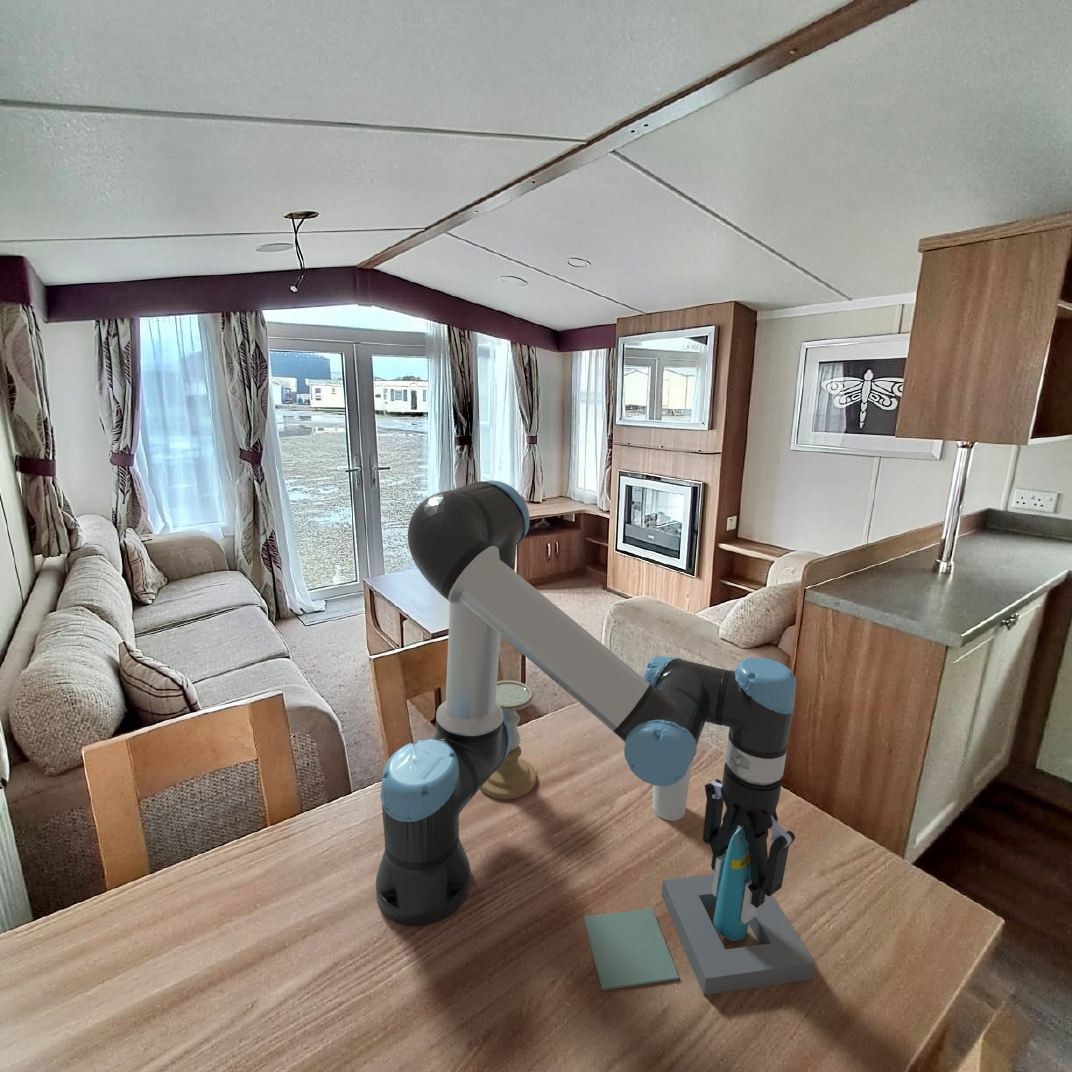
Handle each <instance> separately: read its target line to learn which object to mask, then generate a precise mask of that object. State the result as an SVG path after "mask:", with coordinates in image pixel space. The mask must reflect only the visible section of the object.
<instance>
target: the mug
mask: <svg viewBox="0 0 1072 1072" xmlns="http://www.w3.org/2000/svg"><path fill="white" fill-rule="evenodd" d="M691 771H692V762H691V763H690V765H689V768H688V770H687V772H686V774H685V775H684V777H683V778H682V779H681V780H679V781H678V782H676V783H674V784H672V785H668V786H656V785H653V787H652V788H653V789H652V806H651V807H652V811H653V813H654V814H655V815H656V816H657V817H659V818H661V819H663V820H665V821H669V822H670V821H671V822H674V821H679V820H682V819H683V818H684V816H685V814H686V808H687V803H688V796H689V795H688V792H689V785H690V779H691V778H690V777H691Z"/></svg>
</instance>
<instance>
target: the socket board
mask: <svg viewBox="0 0 1072 1072" xmlns="http://www.w3.org/2000/svg"><path fill="white" fill-rule="evenodd" d="M713 880H714V873H711V874H704V875H703V874H702V875H694V876H685V877H678V878H677V877H675V878H668V879H662V885H661V896H662V899H663V902H664V904H665V908H666V909H667V912H668V913H669V916H670V919H671V921H672V924H673V925H674V928H675V931H676V933H677V935H678V937H679V940H680V942H681V945H682V947H683V950H684V952H685V954H686V957H687V959H688V961H689V963H690V966H691V969H692V972H693V974H694V976H695V979H696V981H697V984H698V986H699V987H700V991H701V992H702V995H703V996H708V995H709V996H710V995H716V994H722V993H729V992H735V991H736V992H737V991H743V990H751V989H756V988H757V989H758V988H764V987H771V986H776V985H784V984H791V983H798V982H805V981H810V980H811V981H812V980H813V976H814V971H815V966H816V962H815V961H814V959H813V957H812V956H811V954H810V952H809V951H808V949H807V948H806V947H805V944H804V943H803V942H802V940H801V938H800V937H799V935H798V934H797V932H796V930H795V928H794V927H793V926H792V924H791V923H790V921H789V919H788V918H787V916H786V915H785V913H784V911H783V910H782V908H781V907H780V905H779V903H778V902H777V901H776V898H775V897H774V896H773V894H772V895H771V896H767V895H766V896H765V902H764V903H763V904H762V905H760V906H759V907H758V912H757V916H755V917H754V918H753V919H751V920H750V921H749V923H748V926H749V927H750V929H751V930H752V932H753V934H754V936H755V938H756V939H757V942H758V944H757V945H749V946H742V947H735V948H727V949H725V946H724V944H723V942H722V940H721V938H720V936H719V934H718V931H717V930H716V928H715V926H714V923H713V922H712V920H711V918H710V916H709V914H708V912H707V910H712V909H713V910H715V908H716V903H717V898H718V896H716V897H715V896H714V895H713V894H712V888H713Z"/></svg>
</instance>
